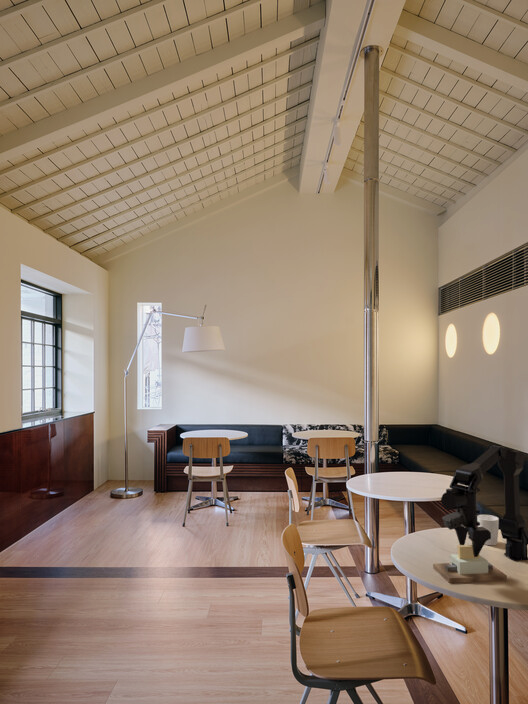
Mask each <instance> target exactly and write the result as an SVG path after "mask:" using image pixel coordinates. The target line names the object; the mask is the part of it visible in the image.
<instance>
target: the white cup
mask: <svg viewBox="0 0 528 704" xmlns="http://www.w3.org/2000/svg"><path fill="white" fill-rule="evenodd" d="M499 520H500V518H499V517H497V516H496V515H491V514H477V521H478V522H480V526H477V527H484V528H486V529H487V530H489V531H490V532H491V539H489V540H487V541H486V543H485V544H486V546H496V544H497V545H498V543H499V541H498V537H499V524H500V521H499ZM485 544H484V545H485Z"/></svg>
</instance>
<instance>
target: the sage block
mask: <svg viewBox="0 0 528 704" xmlns="http://www.w3.org/2000/svg"><path fill="white" fill-rule="evenodd" d="M488 562H489V560H488V559H486V558H485V557H483V556H482V555H480V554H479V555H478V557H474V554H473V547H472V544H464V545H460V544H457V553H452V554H450V553H449V563H450V565H454V564H455V565H456V566H457V572H458V573H459V574H480V573H488Z"/></svg>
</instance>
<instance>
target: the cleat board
mask: <svg viewBox="0 0 528 704" xmlns="http://www.w3.org/2000/svg"><path fill="white" fill-rule="evenodd" d="M432 569H433V570H434V571H436V573H438V574H439V575H440V576H441V577H442V578H443V579H444V580H445V579H446V581H447V582H448V583H449V584H452V583H453V584H454V583H455V584H457V583H475V582H477V583H480V582H497V581H499V582H500V581H508V575H507V574H506V573H504V572H503V571H501V570H500V569H499V568H497V567H496V566H494V565H493V564H492V563H490V562H489V561H488V573H480V574H459V573H458V572H457V566H456V565H455V564H454V565H450V562H444V563H443V562H442V563H433V564H432Z"/></svg>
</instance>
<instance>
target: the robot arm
mask: <svg viewBox="0 0 528 704" xmlns="http://www.w3.org/2000/svg"><path fill="white" fill-rule="evenodd" d="M524 462H525V457H524V454H523V453H522V452H520V451H518V450H512V449H508V448H506V447H505V446H501V445H489V447H488V449H487V450H486V451H485V452H484V453H482V455H480V456H478V457H477V458H476V459H475V460H474V461H473V462H471V463H468V464H464V465H462V466H459V467H458V468H457V469H456V470H455V473H454V475H453V477H452V480H451V482H450V484H449V488H446V489H445V490H446V491H445V492H444V493H443V494H442V495H441V498H440V502H441V504H442V506H443V508H445V510H447V511H453V510H455V511H454V512H451V513H448V514H446V515H444V516H442V518H441V519H442V521H443V524H444V527H445V528H448V530H450V531H452V530H454V531H455V534H456V537H457V540H458V543H459V544H458V545H466V544H465V543H466V540H467V538H468V539H469V540H470V541H471V545H472V547H473V554H474V557H478V555H480V553H481V551H482V549H483V547H484V546H485V543H486V541H487V540H489V539H491V532H490V531H489V530H487V529H486V528H484V527H478V526H480V522H478V521H477V516H478V514H480V512H481V510H480V509H478V493H479V492H481V491H482V490H481V488H479V487H478V486H479V485H480V484H481V482H482V481H483V480H484V479H483V478H484V477H483V476H484V474H485V473H486V472H487V471H488V470H489V469H491V468H492V467H493V466H494V465H495V464H496V463H498V467H499V469H500V471H501V472H502V473H503V487H504V488H503V490H504V514H503V516H502V517H500V518H499V526H498V529H499V530H500V533H501V538H502V539H504V540H505V542H506V543H505V545H504V546H505V547H504V548H505V552H504V553H503V554H504V556H506V557H508V558H509V559H511V561H514V562H515V561H516V562H517V561H518V562H519V561H528V530H527V524H526V521H525V519H524V517H523V515H522V514H521V500H520V498H521V496H520V477H519V475H520V473H521V472H522V471H523V470H524Z"/></svg>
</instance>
